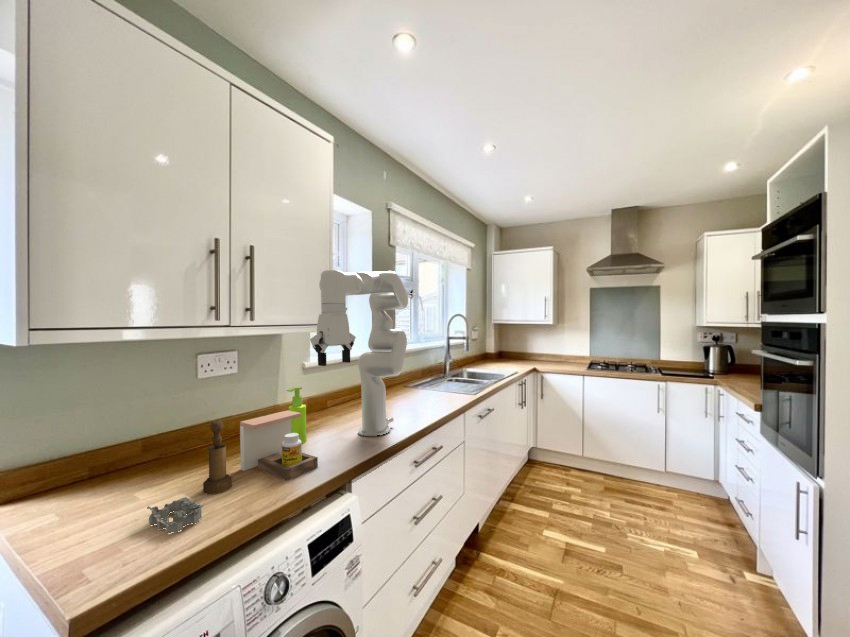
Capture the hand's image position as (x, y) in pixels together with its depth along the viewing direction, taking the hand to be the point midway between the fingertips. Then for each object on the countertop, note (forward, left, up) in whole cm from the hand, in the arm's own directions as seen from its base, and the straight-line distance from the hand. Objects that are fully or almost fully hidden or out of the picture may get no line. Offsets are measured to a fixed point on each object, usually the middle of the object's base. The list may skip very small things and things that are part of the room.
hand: (334, 363), depth 112 cm
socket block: (+12, -8, -30) cm, 34 cm away
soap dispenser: (-4, -26, -31) cm, 40 cm away
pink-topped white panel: (+12, -16, -30) cm, 36 cm away
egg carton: (+43, -3, -31) cm, 53 cm away
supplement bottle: (+12, -6, -31) cm, 33 cm away
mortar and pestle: (+30, -12, -31) cm, 44 cm away
